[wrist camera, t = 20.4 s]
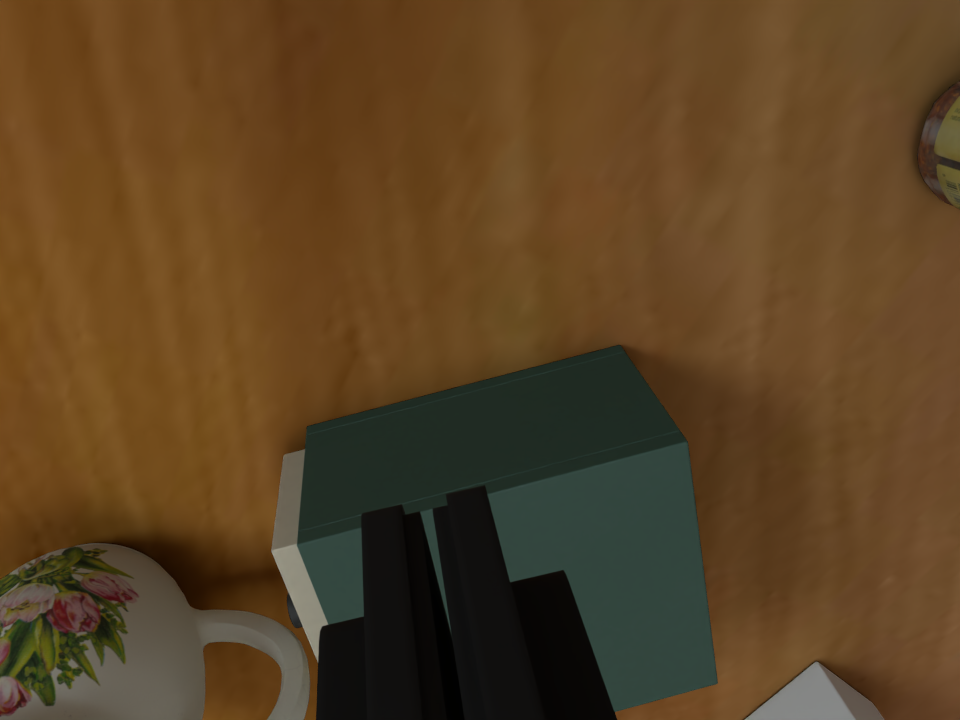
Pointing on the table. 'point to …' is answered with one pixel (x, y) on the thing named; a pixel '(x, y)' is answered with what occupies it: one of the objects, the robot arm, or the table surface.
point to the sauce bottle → (942, 147)
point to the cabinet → (536, 505)
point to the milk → (817, 700)
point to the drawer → (295, 553)
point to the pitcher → (121, 641)
